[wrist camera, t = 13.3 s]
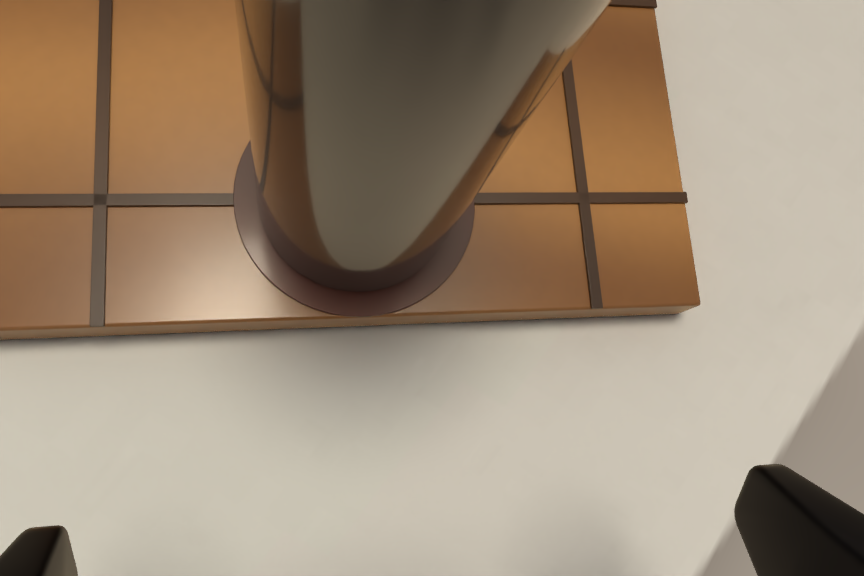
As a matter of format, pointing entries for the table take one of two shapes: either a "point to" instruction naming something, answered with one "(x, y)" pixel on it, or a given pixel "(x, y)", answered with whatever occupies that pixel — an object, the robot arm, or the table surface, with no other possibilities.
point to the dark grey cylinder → (389, 119)
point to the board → (237, 201)
